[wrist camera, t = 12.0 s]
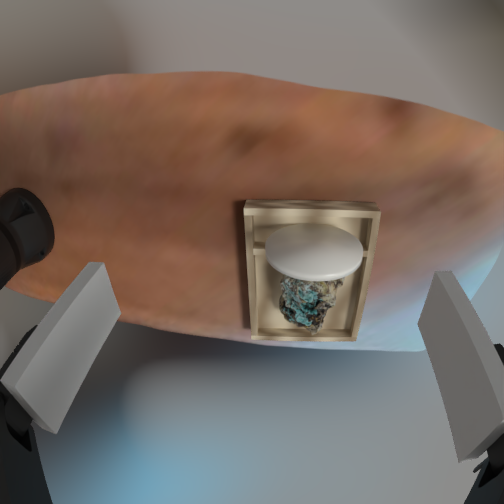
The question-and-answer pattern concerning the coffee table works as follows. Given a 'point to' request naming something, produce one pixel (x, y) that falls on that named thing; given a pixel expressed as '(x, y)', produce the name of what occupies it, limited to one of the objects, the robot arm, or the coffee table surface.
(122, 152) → the coffee table surface
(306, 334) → the wooden tray
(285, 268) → the standing plate
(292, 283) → the mineral specimen
